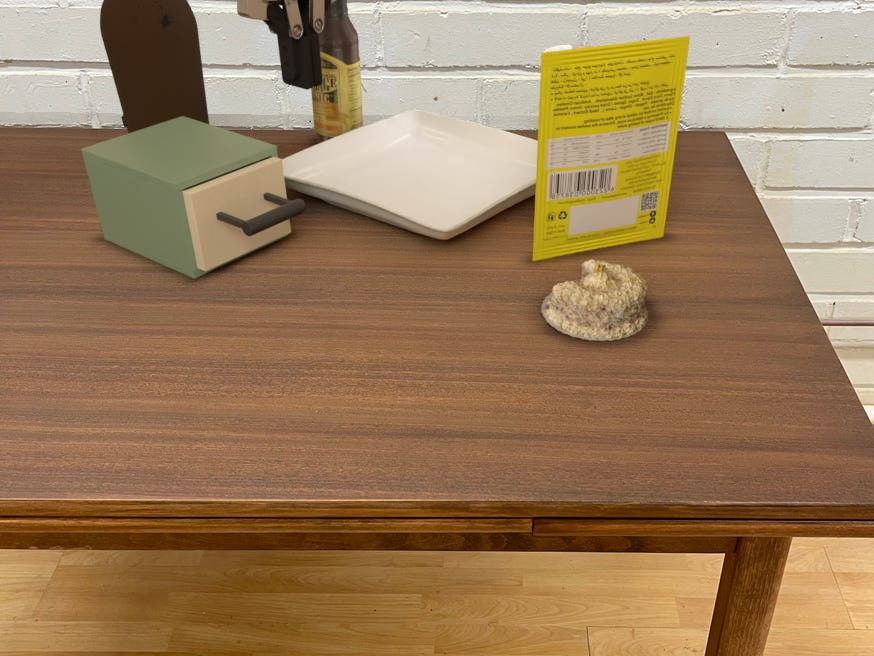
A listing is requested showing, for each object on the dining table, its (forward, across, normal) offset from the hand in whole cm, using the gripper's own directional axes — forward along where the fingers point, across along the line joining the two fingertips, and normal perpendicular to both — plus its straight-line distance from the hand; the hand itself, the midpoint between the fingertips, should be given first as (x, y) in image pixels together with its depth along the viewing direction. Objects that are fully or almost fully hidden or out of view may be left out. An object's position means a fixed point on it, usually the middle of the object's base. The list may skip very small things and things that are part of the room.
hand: (302, 83), depth 80 cm
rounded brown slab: (+19, -13, -39) cm, 45 cm away
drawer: (+18, 0, -15) cm, 23 cm away
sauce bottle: (+19, -30, -27) cm, 45 cm away
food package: (+19, -24, +16) cm, 35 cm away
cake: (+19, -12, +23) cm, 32 cm away
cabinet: (+19, 0, -19) cm, 27 cm away
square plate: (+19, -25, -8) cm, 33 cm away
